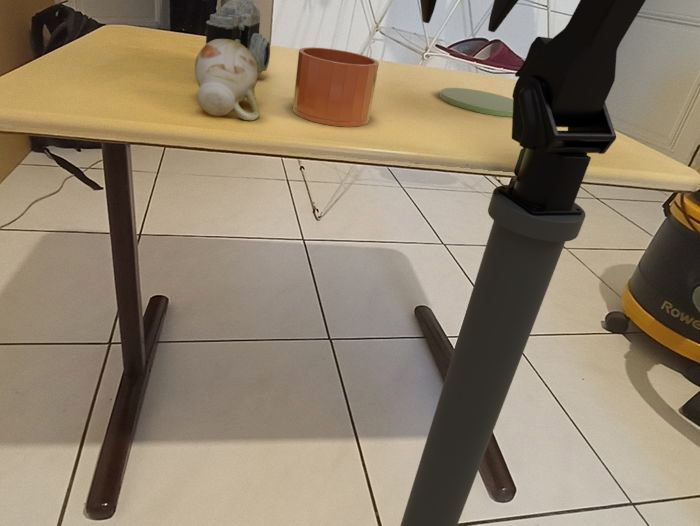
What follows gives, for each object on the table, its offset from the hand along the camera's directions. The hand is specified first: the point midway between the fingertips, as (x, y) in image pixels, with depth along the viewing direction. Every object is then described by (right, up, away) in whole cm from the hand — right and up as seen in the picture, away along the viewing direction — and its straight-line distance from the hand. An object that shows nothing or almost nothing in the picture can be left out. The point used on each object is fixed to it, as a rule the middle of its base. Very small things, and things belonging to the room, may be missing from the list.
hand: (459, 27), depth 67 cm
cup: (-15, -10, +2) cm, 19 cm away
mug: (-27, -11, -3) cm, 30 cm away
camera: (-29, -2, +13) cm, 31 cm away
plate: (+8, -3, +23) cm, 24 cm away
